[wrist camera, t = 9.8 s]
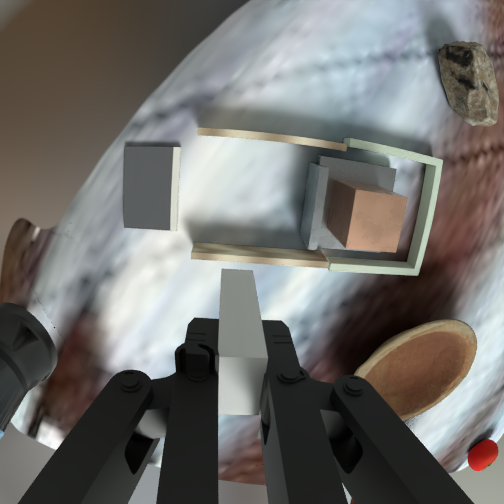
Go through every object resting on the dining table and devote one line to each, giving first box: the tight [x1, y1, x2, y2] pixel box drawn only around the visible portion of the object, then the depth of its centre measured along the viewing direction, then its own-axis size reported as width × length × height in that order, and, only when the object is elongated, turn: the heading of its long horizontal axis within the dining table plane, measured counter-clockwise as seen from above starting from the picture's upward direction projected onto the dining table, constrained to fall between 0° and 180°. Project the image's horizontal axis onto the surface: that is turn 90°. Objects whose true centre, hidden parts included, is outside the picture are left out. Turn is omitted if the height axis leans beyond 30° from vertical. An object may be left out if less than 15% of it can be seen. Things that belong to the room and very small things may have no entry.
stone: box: [438, 41, 499, 126], centre depth 28 cm, size 7×12×7 cm, turn 24°
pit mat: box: [124, 146, 182, 231], centre depth 35 cm, size 7×10×1 cm
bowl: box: [354, 319, 477, 421], centre depth 44 cm, size 24×24×8 cm
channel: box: [191, 128, 347, 268], centre depth 35 cm, size 16×15×4 cm
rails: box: [326, 138, 443, 276], centre depth 37 cm, size 14×16×2 cm
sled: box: [299, 155, 407, 253], centre depth 34 cm, size 11×11×8 cm
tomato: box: [468, 439, 498, 471], centre depth 63 cm, size 11×12×10 cm
